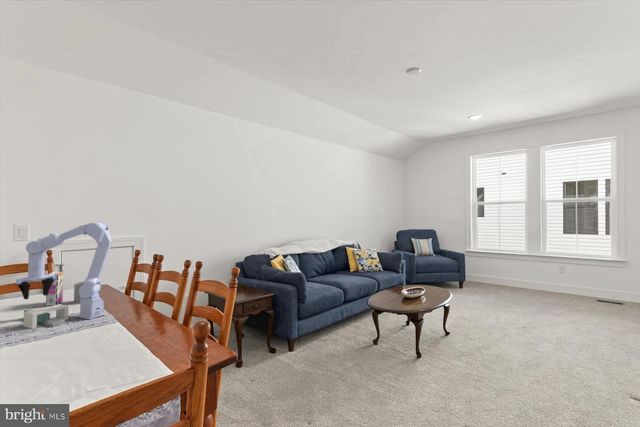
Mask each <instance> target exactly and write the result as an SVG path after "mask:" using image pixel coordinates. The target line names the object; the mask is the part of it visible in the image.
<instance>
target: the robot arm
mask: <svg viewBox="0 0 640 427" xmlns="http://www.w3.org/2000/svg"><path fill="white" fill-rule="evenodd" d="M80 235H88V236H89V237H91V238H92V239H93V240H94V241H95V242H96V243H97V246H96V250H95V252H94V255H93V258H92V262H91V265H90V268H89V271H88V274H87V276H86V278H85V279H84V281H83V282H84V283H83V285H82V286H81V287H80V288H79V291H78V293H79V295H80V296H81V300H80V305H79V306H80V309H79V314H76V315H75V317H76V318H80V319H86V320H91V319H95V318H98V317H102V316H105V315H106V313H105V309H104V308H105V306H104V305H105V302H104V300H103V298H101V297H100V294H99V292H100V291H101V289H102V283H101V282H102V278H101V277H102V275H103V274H102V273H103V270H104V267H105V264H106V261H107V258H108V254H109V252H110V249H111V246H112V242H113V240H112V237H111V234H110V228H109V227H108V226H107V225H106V224H105V222H102V221H101V222H89V223H88V224H87V223H86V224H83V225H79V226H77V227H74V228H73V229H72V228H71V229H69V230H68V231H64V232H63V233H56V232H55V233H54V232H52V233H49V234H48V235H47V236H44V237H39V238H37V240H31V241H30V242H28V243H27V244H26V246H25V251H26V252H27V253H28V256H27V257H28V260H27V261H28V264H27V265H28V267H27V277H22V278H17V279H15V284H16V285H17V287H18V288H19V290H20V292H21V293H22V297H23V300H29V298H30V296H29V295H30V289H31V288H30V287H31V284H30V283H31V282H38V281H41V284H42V296H46V295H48V292H49V289H50V287H51V285H52V283H53V282H54V279H55V274H50V273H49V274H50V275H48V274H45V272H46V271H45V270H46V269H45V268H46V266H45V263H46V262H45V261H46V259H45V258H46V251H48V250H51V249H53V248H56V247H59V246H61V245H63V244H64V242H65V241H66V240H69V239H72V238H75V237H77V236H80Z"/></svg>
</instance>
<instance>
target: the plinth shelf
mask: <svg viewBox="0 0 640 427" xmlns="http://www.w3.org/2000/svg"><path fill="white" fill-rule="evenodd" d="M31 310H32V311H27V312H24V311H23V327H25V328H29V329H34V328H35V329H36V328H37V327H38V326H37V325H38V321H37V315H39V314H43V313H51V312H55V318H56V317H59V318H65V321H66V320H69V305H66V304H60V303H59V304H58V305H54V306H45V307H42V308H36V309H31Z"/></svg>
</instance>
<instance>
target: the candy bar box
mask: <svg viewBox="0 0 640 427" xmlns="http://www.w3.org/2000/svg"><path fill="white" fill-rule="evenodd" d="M64 272H65V271H52V272H50V273H48V274H47V275H50V274H55V279H54V282H53V283H52V285H51V287H50V289H49V292H48V295H45V307H50V306H54V305H59V304H60V303H62V302H63V299H64V298H63V297H64V295H63V293H64V277H65V276H64Z"/></svg>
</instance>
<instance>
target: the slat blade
mask: <svg viewBox="0 0 640 427" xmlns="http://www.w3.org/2000/svg"><path fill="white" fill-rule="evenodd" d="M32 310H33V309H30V308H29V309H27V308H26V309H24V310H23V313H24V312H27V311H32ZM48 319H51V312H47V313H43V314H39V315H37V323H42V324H45V320H48Z"/></svg>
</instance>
